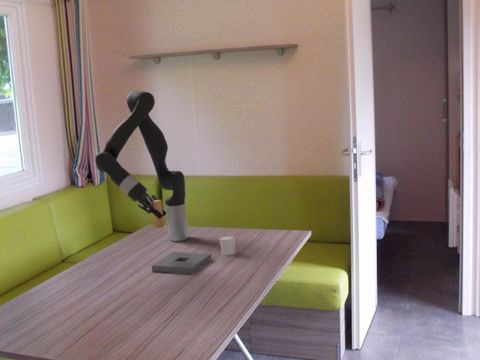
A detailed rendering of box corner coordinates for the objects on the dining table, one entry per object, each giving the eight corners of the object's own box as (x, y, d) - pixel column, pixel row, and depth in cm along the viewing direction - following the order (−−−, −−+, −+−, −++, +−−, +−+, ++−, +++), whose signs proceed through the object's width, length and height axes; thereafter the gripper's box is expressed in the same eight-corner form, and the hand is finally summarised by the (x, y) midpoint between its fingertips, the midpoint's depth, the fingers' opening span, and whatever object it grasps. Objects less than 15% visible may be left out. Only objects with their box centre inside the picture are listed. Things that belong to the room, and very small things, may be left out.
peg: (158, 225, 238) (155, 199, 236) (165, 225, 236) (163, 200, 234) (153, 227, 234) (150, 201, 232) (161, 227, 233) (158, 202, 231)
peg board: (173, 257, 243) (173, 251, 243) (211, 259, 236) (210, 253, 236) (152, 271, 227) (151, 265, 226) (192, 274, 220) (191, 267, 219)
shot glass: (236, 255, 239) (235, 239, 238) (220, 256, 240) (218, 240, 238) (236, 250, 246) (235, 235, 245) (221, 251, 246) (219, 236, 245)
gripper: (131, 185, 227) (162, 214, 226) (144, 178, 240) (174, 205, 240) (120, 198, 229) (151, 227, 228) (134, 191, 243) (163, 218, 242)
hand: (163, 216), depth 234 cm, fingers closed on peg, 3 cm apart
